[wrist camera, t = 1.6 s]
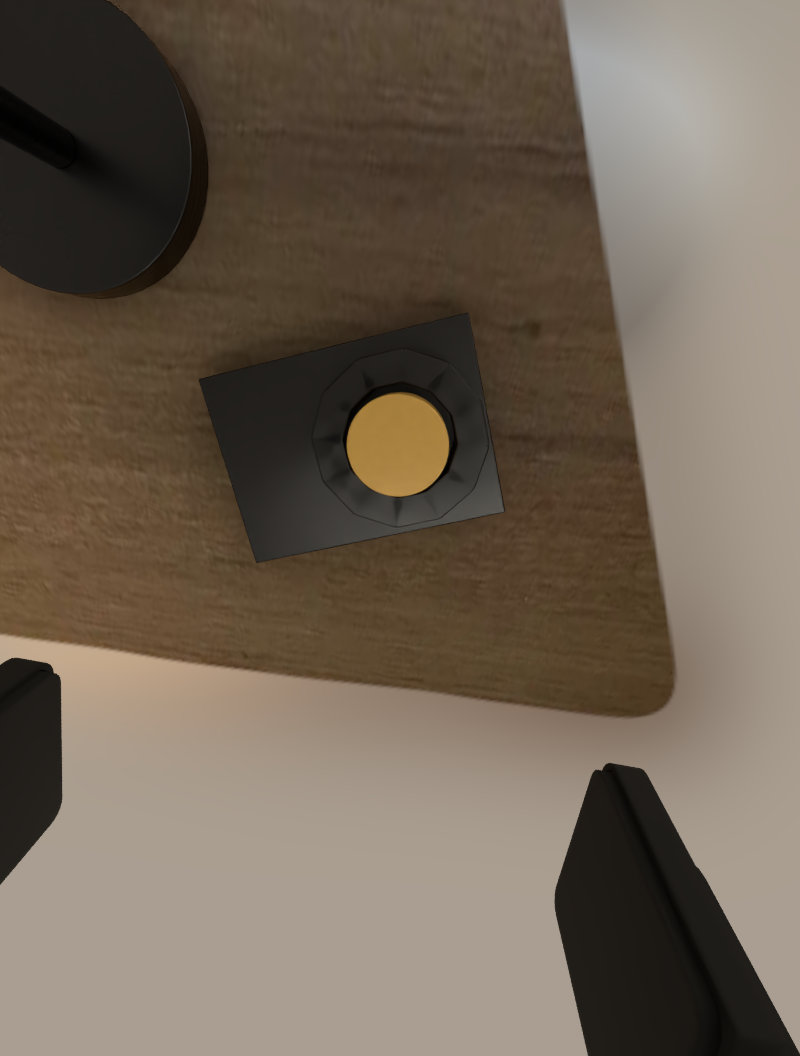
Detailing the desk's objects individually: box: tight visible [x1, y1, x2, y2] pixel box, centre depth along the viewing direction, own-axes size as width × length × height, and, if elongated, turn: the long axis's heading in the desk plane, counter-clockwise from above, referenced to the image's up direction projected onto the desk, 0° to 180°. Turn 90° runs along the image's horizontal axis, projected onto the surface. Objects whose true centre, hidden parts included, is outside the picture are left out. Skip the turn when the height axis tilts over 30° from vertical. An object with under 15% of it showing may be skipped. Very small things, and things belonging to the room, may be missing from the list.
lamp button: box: [347, 392, 449, 497], centre depth 20 cm, size 4×4×2 cm
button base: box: [199, 313, 505, 563], centre depth 22 cm, size 11×8×4 cm
